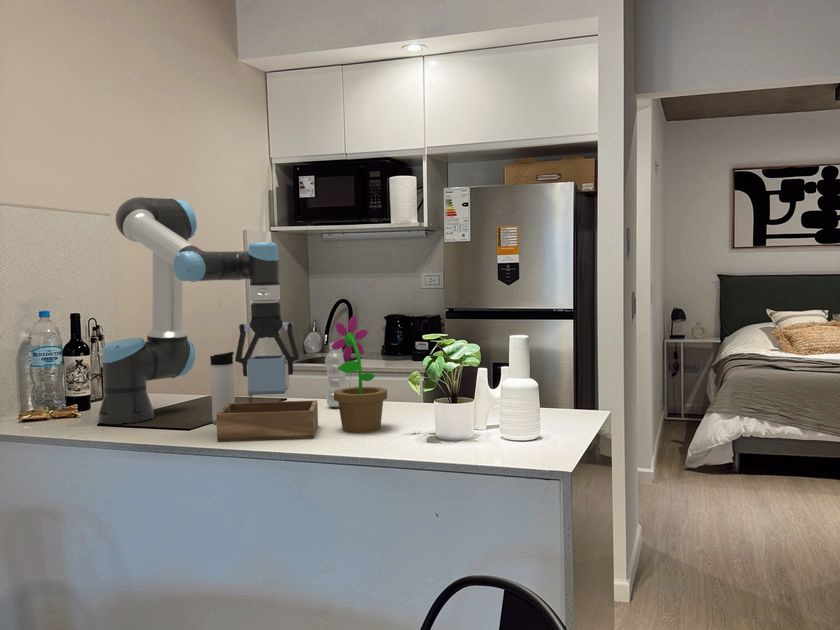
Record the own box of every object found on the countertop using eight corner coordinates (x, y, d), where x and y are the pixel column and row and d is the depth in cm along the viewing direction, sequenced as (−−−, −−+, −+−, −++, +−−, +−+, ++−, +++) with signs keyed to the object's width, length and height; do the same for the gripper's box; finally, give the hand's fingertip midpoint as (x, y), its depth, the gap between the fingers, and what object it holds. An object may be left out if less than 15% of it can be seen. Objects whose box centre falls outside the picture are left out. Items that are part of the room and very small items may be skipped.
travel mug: (230, 424, 215) (227, 353, 213) (208, 424, 216) (205, 353, 215) (240, 420, 221) (237, 350, 219) (218, 419, 222) (216, 350, 221)
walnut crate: (229, 428, 210) (228, 403, 209) (318, 425, 211) (317, 400, 210) (217, 441, 194) (216, 414, 193) (313, 438, 195) (312, 411, 195)
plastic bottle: (347, 409, 235) (345, 343, 234) (325, 409, 235) (323, 344, 234) (349, 405, 241) (347, 341, 240) (328, 405, 241) (326, 342, 240)
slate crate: (254, 389, 206) (252, 356, 205) (288, 388, 206) (287, 354, 206) (248, 394, 197) (247, 359, 196) (284, 393, 197) (283, 358, 197)
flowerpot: (364, 421, 216) (362, 314, 214) (399, 428, 206) (397, 316, 204) (323, 429, 206) (320, 317, 204) (358, 437, 196) (355, 319, 194)
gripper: (220, 303, 196) (223, 391, 197) (306, 301, 197) (309, 388, 198) (225, 302, 203) (229, 387, 204) (308, 300, 204) (311, 384, 206)
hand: (268, 388), depth 201 cm, fingers closed on slate crate, 9 cm apart
